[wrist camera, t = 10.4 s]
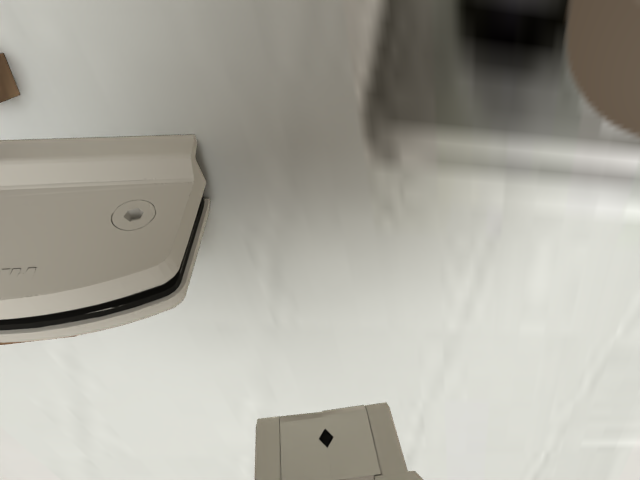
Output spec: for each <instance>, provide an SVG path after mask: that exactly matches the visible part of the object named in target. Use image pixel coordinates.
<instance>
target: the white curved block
mask: <svg viewBox="0 0 640 480" xmlns="http://www.w3.org/2000/svg"><path fill="white" fill-rule="evenodd" d="M196 149H197V140H196V137H195V135H162V136H129V137H97V138H64V139H32V140H0V342H2V343H6V342H28V341H39V340H49V339H57V338H63V337H70V336H76V335H82V334H87V333H92V332H97V331H101V330H105V329H109V328H113V327H117V326H121V325H125V324H128V323H132V322H135V321H138V320H141V319H144V318H148V317H151V316H153V315H156V314H159V313H161V312H164V311H167V310H169V309H172V308H174V307H176V306H177V305H179V304H180V303H181V302H182V301H183V299H184V298H185V296H186V292H187V289H188V285H189V282H190V278H191V275H192V271H193V268H194V264H195V261H196V257H197V254H198V250H199V247H200V243H201V240H202V236H203V233H204V229H205V226H206V222H207V219H208V215H209V208H210V199H204V197H202V195H203V192H204V189H205V186H206V180H205V178H204V176H203V174H202V172H201V170H200V167H199V165H198V163H197V161H196V159H195V156H196Z"/></svg>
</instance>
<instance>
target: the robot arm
mask: <svg viewBox="0 0 640 480" xmlns="http://www.w3.org/2000/svg"><path fill="white" fill-rule="evenodd" d="M255 480H423V479H422V478H421V477H420V476H419V475H418V474H417V473H416V472H415V471H408V470H407V467H406V463H405V460H404V456H403V453H402V449H401V446H400V443H399V439H398V436H397V432H396V429H395V425H394V422H393V418H392V415H391V411H390V408H389V406H388V404H387V403H386V402H385V403H378V404H371V405H365V406H364V405H359V406H352V407H345V408H339V409H332V410H325V411H322V412H315V413H306V414H296V415H287V416H277V417H269V418H261V419H257V424H256V446H255Z"/></svg>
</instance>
